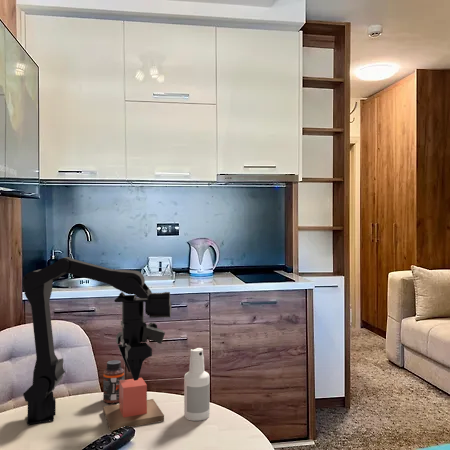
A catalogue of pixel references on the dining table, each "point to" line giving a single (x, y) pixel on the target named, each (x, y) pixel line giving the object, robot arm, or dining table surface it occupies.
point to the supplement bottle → (112, 381)
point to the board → (118, 421)
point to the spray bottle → (196, 388)
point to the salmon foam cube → (132, 397)
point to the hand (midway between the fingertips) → (133, 375)
